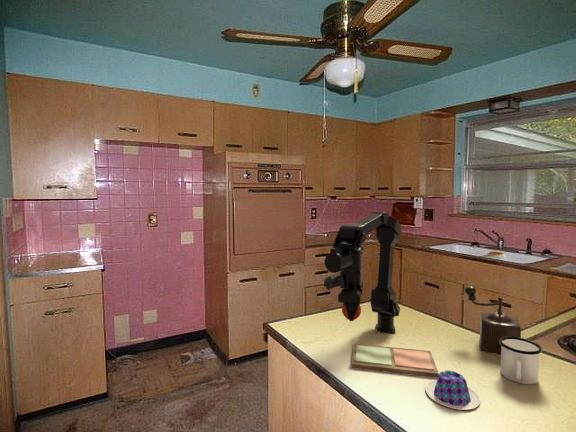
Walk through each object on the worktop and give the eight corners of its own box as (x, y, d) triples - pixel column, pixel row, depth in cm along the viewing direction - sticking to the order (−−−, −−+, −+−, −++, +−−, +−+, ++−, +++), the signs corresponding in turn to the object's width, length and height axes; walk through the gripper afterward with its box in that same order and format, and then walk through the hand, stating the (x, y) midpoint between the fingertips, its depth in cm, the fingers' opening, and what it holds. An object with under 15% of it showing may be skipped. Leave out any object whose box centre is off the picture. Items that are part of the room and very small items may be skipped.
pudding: (462, 381, 87) (462, 362, 87) (491, 411, 75) (492, 389, 75) (417, 383, 87) (417, 364, 86) (439, 413, 75) (440, 391, 74)
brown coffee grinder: (516, 343, 107) (518, 289, 106) (521, 359, 98) (523, 299, 96) (462, 334, 115) (463, 283, 114) (462, 347, 105) (463, 292, 104)
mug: (499, 363, 95) (500, 333, 95) (540, 373, 90) (541, 341, 89) (495, 383, 86) (496, 349, 85) (541, 396, 80) (543, 360, 79)
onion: (360, 325, 98) (360, 299, 98) (341, 324, 100) (341, 298, 99) (361, 318, 104) (361, 293, 103) (342, 317, 105) (342, 292, 105)
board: (353, 347, 106) (353, 342, 106) (430, 354, 101) (430, 350, 101) (351, 367, 94) (351, 362, 94) (438, 377, 88) (438, 372, 88)
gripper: (329, 259, 112) (330, 304, 113) (320, 272, 94) (320, 325, 95) (363, 260, 109) (363, 306, 110) (360, 274, 91) (360, 329, 92)
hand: (351, 316), depth 102 cm, fingers closed on onion, 6 cm apart
